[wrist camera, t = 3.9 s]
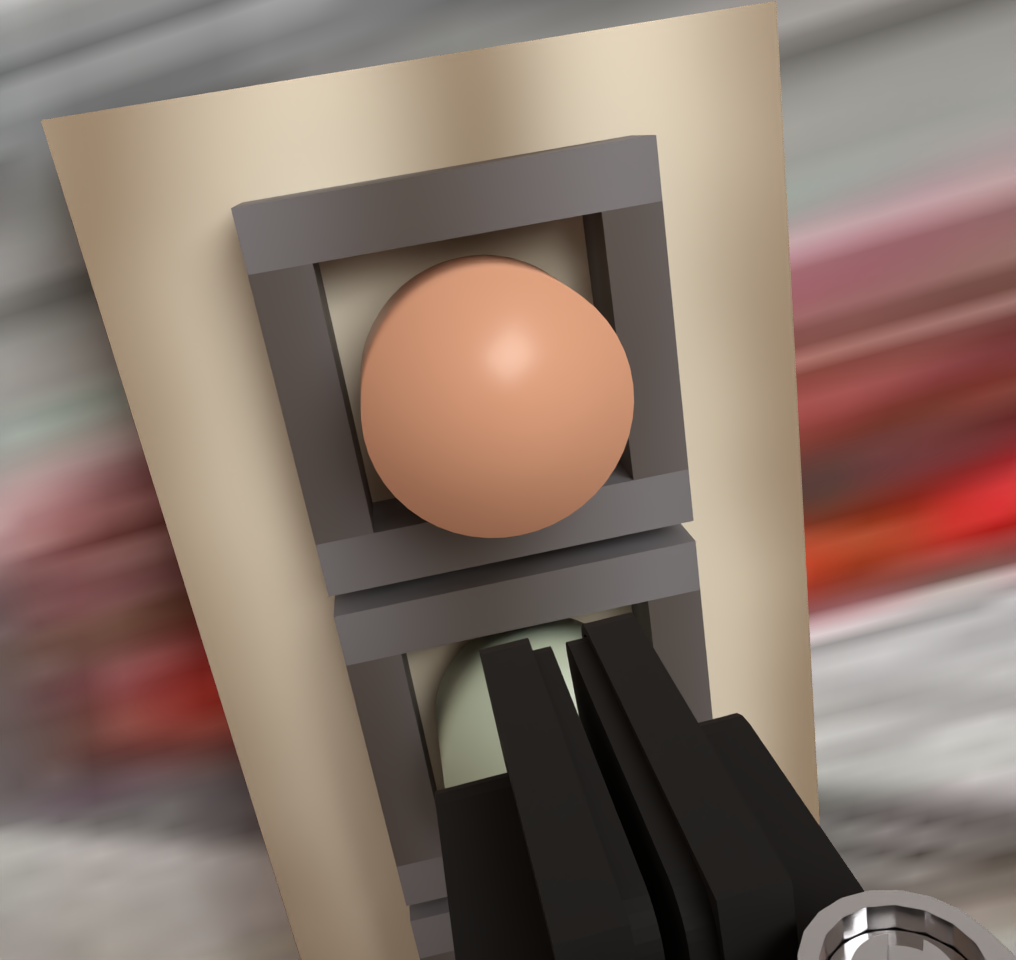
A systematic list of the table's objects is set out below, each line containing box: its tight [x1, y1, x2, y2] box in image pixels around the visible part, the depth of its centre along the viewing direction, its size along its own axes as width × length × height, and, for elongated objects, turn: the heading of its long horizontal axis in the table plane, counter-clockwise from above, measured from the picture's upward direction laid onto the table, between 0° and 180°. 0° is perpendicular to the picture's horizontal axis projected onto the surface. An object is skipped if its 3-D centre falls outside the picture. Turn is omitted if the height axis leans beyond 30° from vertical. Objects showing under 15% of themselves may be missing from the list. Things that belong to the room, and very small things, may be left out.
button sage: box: [435, 618, 585, 788], centre depth 18 cm, size 4×4×2 cm
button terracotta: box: [360, 255, 634, 538], centre depth 15 cm, size 4×4×2 cm
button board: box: [41, 1, 820, 960], centre depth 20 cm, size 12×24×4 cm, turn 9°
